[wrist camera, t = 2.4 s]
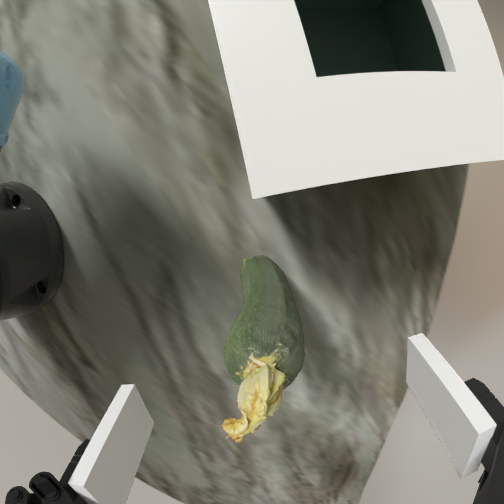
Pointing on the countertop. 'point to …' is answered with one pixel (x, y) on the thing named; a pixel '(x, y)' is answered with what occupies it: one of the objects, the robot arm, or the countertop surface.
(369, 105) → the box
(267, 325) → the vegetable
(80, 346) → the countertop surface
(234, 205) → the countertop surface
